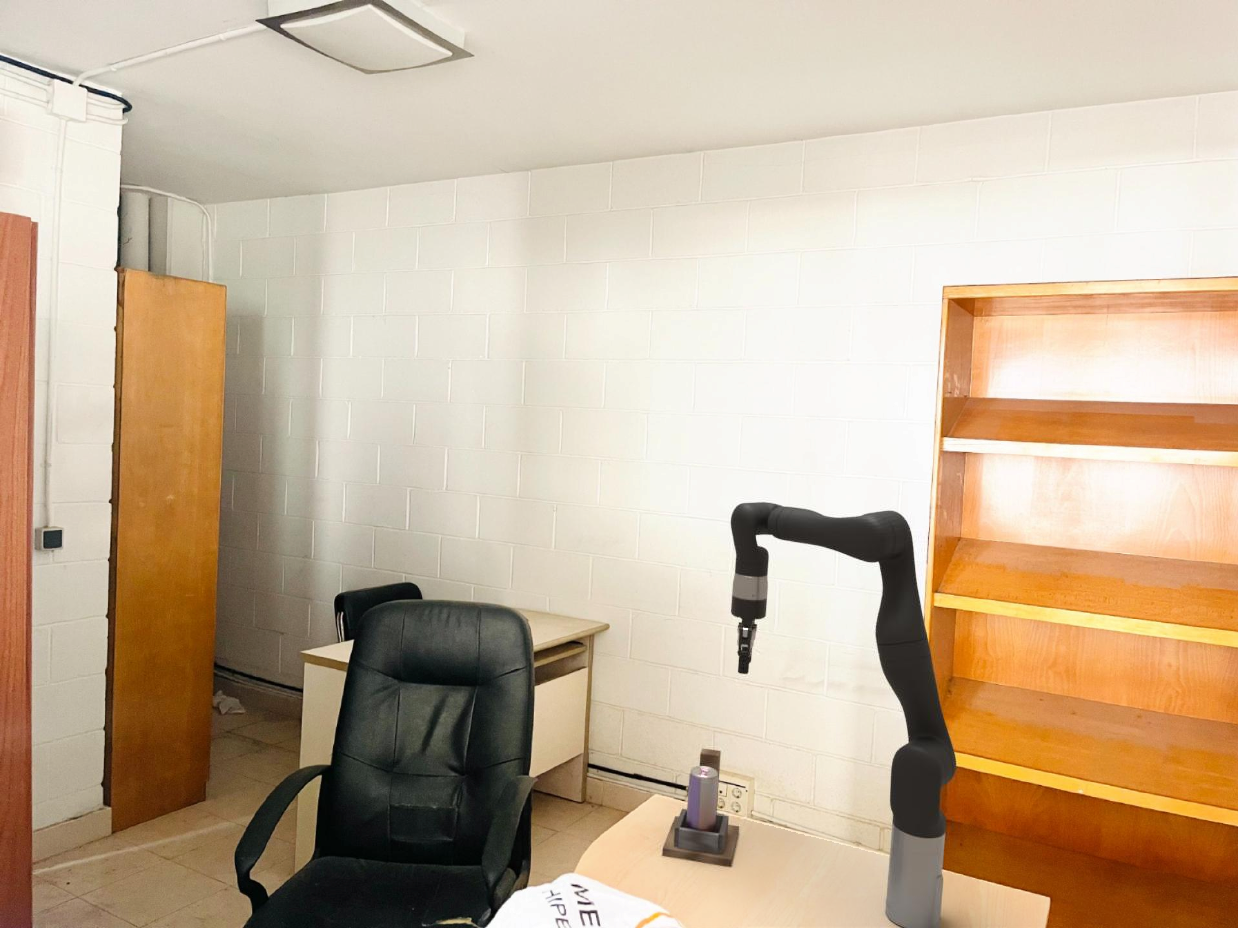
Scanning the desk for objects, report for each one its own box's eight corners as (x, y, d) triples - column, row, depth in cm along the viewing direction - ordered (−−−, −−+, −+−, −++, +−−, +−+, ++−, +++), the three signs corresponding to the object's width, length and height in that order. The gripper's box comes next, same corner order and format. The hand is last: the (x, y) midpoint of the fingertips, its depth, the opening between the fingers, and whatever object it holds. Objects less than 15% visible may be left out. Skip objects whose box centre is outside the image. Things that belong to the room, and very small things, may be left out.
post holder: (738, 832, 198) (744, 754, 196) (731, 866, 183) (736, 781, 182) (674, 822, 201) (679, 744, 199) (662, 855, 186) (667, 771, 185)
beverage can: (682, 845, 188) (686, 774, 186) (688, 832, 193) (693, 763, 192) (710, 850, 186) (715, 779, 185) (716, 837, 192) (721, 768, 190)
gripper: (765, 603, 190) (760, 679, 191) (768, 589, 204) (763, 660, 205) (729, 599, 191) (724, 675, 193) (735, 585, 205) (730, 656, 207)
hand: (744, 667), depth 199 cm, fingers open, 8 cm apart
